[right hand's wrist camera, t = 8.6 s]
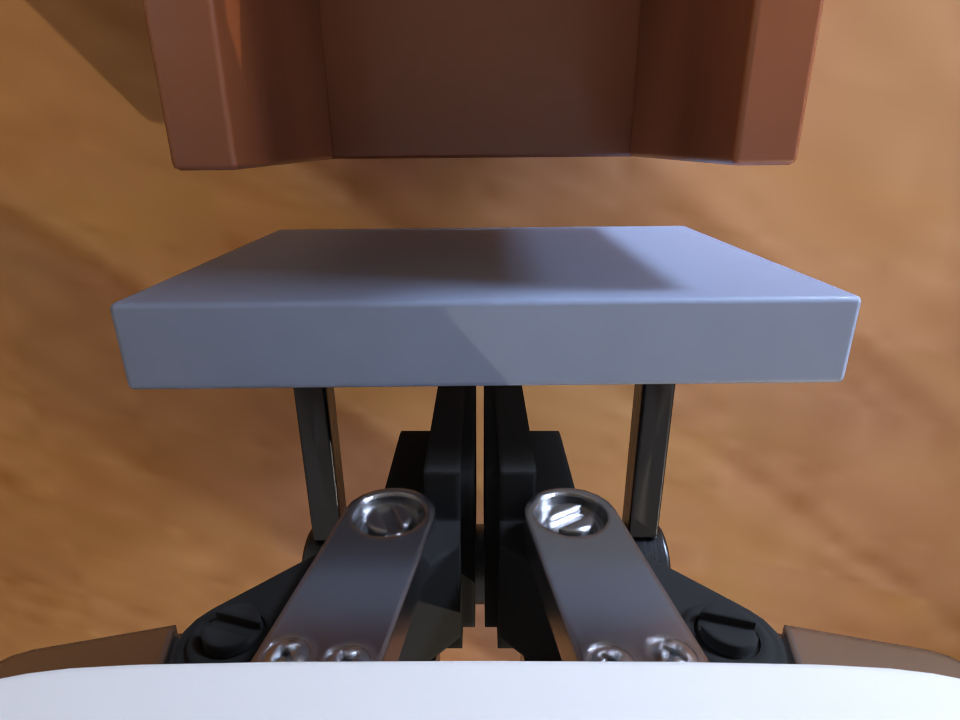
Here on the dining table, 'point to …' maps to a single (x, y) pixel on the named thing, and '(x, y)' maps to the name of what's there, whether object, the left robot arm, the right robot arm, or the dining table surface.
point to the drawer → (483, 251)
